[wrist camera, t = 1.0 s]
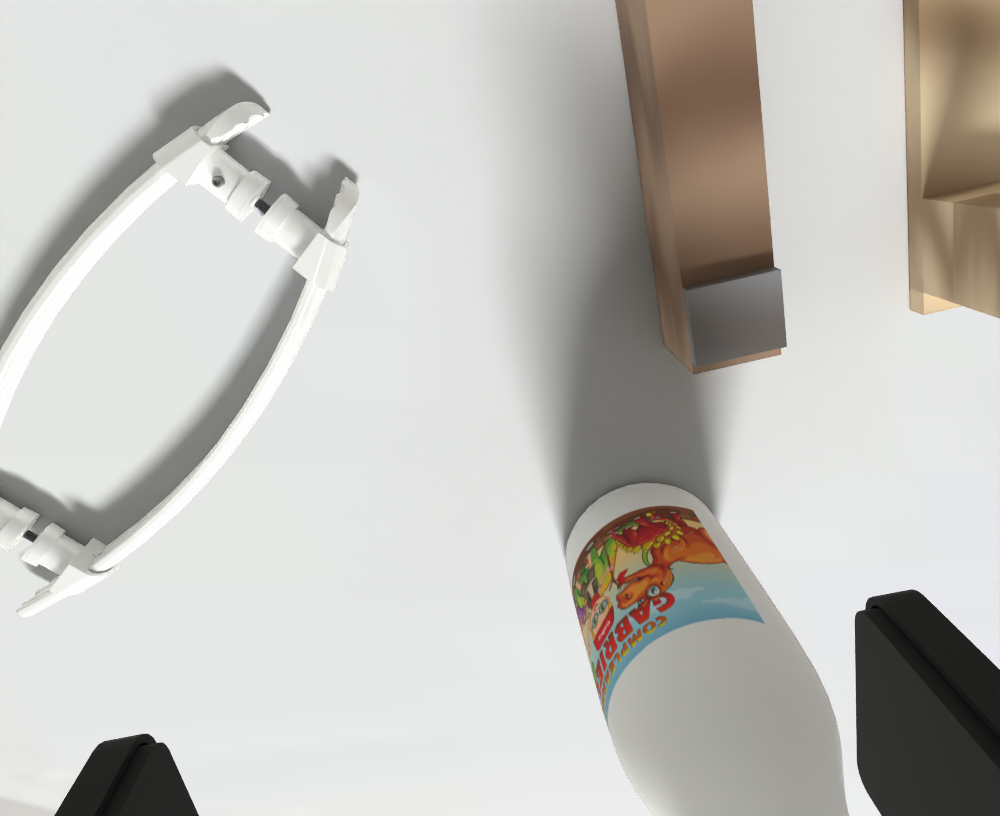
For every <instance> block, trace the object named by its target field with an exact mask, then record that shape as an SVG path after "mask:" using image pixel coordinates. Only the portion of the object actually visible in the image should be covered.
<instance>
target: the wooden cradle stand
mask: <svg viewBox="0 0 1000 816" xmlns="http://www.w3.org/2000/svg"><path fill="white" fill-rule="evenodd" d="M903 2H904V48H905V93H906V138H907V184H908V229H909V274H910V310H912V311H914V312H917V313H920V314H922V315H926V314H931V313H935V312H939V311H944V310H948V309H952V308H956V307H961V306H964V307H967V308H970V309H973V310H976V311H980V312H983V313H986V314H989V315H992V316H995V317H998V318H1000V0H903Z"/></svg>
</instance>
